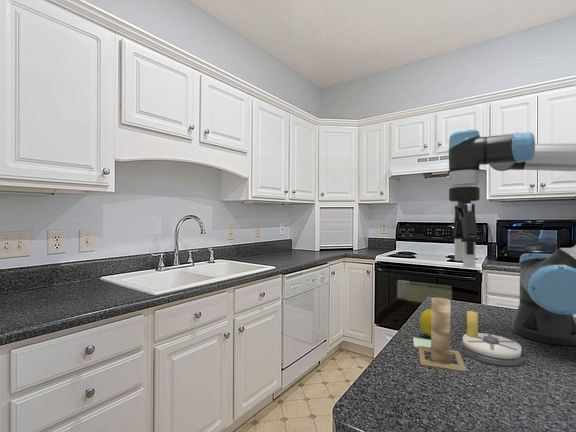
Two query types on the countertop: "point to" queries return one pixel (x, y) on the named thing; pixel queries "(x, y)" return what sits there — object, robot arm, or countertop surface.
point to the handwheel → (488, 341)
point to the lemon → (426, 322)
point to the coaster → (421, 342)
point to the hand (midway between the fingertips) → (464, 263)
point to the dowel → (440, 329)
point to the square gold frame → (440, 364)
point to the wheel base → (492, 358)
